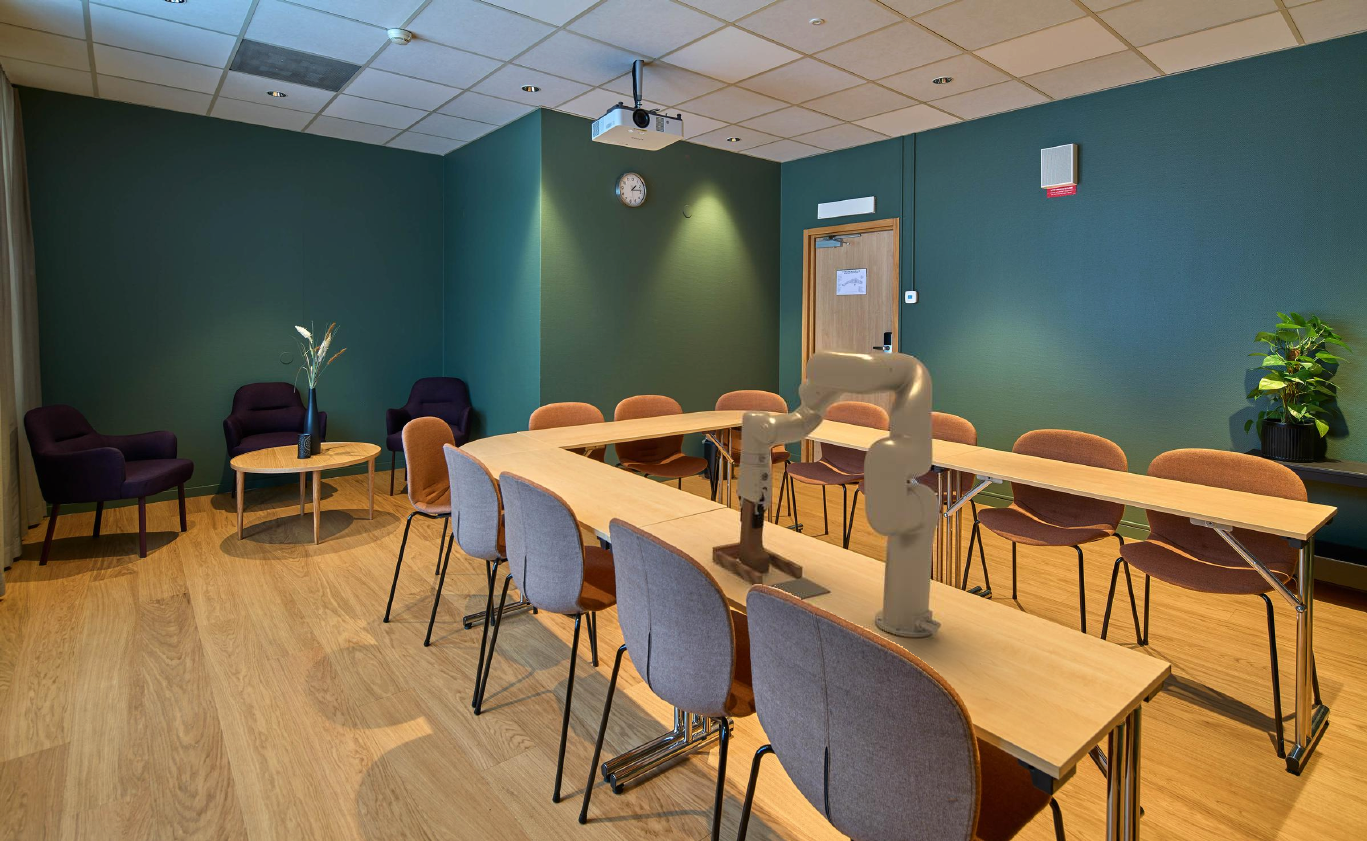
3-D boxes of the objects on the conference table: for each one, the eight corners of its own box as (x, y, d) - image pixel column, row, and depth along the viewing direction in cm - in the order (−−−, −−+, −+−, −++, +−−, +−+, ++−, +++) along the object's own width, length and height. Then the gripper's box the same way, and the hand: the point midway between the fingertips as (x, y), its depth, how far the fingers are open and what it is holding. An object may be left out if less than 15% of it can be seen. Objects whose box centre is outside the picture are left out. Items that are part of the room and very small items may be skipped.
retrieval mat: (830, 592, 173) (830, 590, 172) (784, 603, 166) (784, 601, 166) (804, 579, 181) (804, 577, 181) (759, 588, 174) (759, 587, 174)
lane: (802, 577, 182) (802, 563, 181) (757, 587, 175) (757, 572, 175) (754, 553, 201) (754, 539, 200) (712, 561, 194) (712, 547, 193)
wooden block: (769, 572, 186) (774, 507, 182) (754, 574, 184) (759, 509, 180) (752, 558, 194) (757, 496, 190) (737, 560, 192) (742, 498, 188)
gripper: (786, 463, 179) (782, 532, 183) (748, 450, 194) (745, 514, 197) (761, 466, 176) (758, 536, 179) (725, 452, 191) (722, 517, 194)
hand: (751, 523), depth 188 cm, fingers closed on wooden block, 5 cm apart
